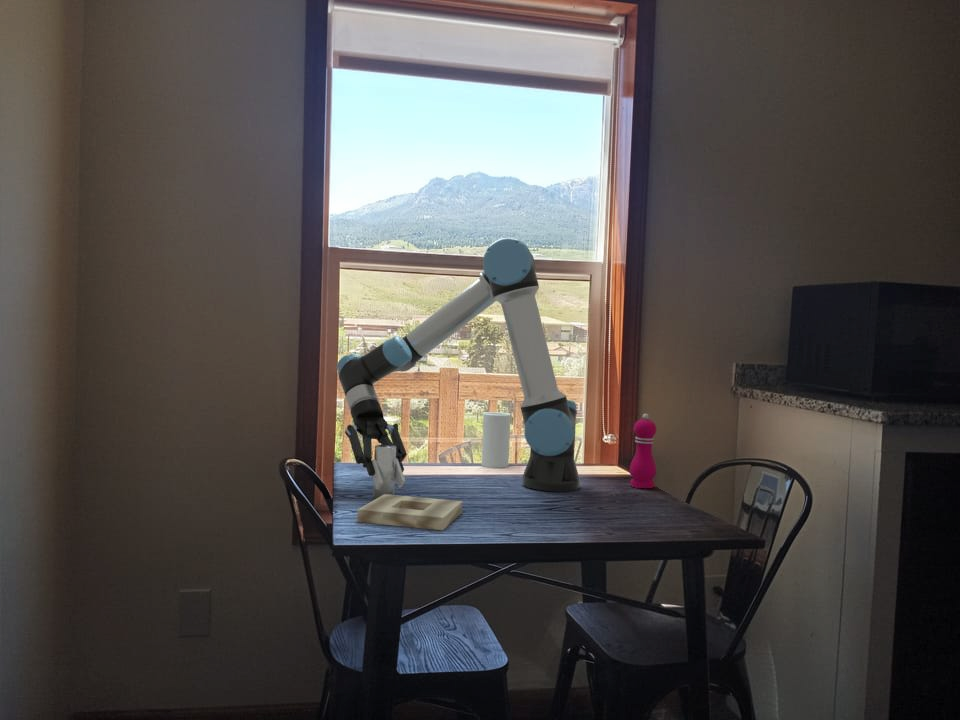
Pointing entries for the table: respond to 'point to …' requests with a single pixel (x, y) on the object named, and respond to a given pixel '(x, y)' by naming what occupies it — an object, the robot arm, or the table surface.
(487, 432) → the cup
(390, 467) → the tall grey pillar
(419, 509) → the frame
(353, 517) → the table surface
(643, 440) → the pepper mill
